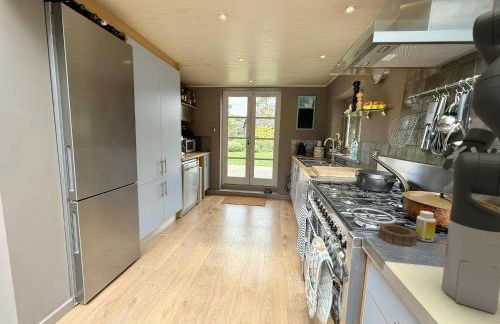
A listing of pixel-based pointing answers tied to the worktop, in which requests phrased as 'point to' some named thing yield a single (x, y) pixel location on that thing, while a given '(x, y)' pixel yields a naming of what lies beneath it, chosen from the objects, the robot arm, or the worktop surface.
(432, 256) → the worktop surface
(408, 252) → the worktop surface
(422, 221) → the supplement bottle
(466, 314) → the worktop surface
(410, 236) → the walnut collar
